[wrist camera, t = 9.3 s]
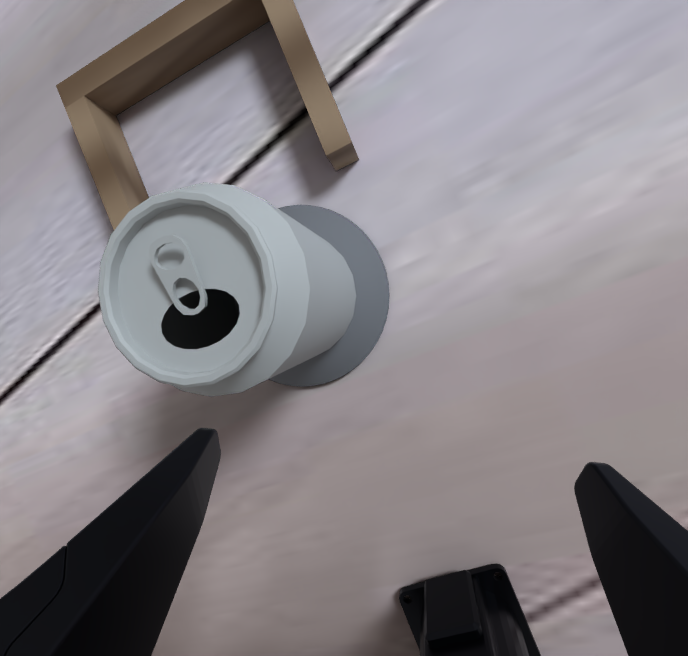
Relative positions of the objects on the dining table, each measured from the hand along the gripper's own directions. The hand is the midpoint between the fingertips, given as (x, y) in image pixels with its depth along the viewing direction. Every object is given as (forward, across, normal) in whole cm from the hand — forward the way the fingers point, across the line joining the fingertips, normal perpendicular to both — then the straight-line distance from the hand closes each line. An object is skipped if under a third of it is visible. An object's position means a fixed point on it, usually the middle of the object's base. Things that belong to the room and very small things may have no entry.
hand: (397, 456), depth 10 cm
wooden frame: (+20, +11, -4) cm, 23 cm away
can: (+15, +5, +4) cm, 16 cm away
